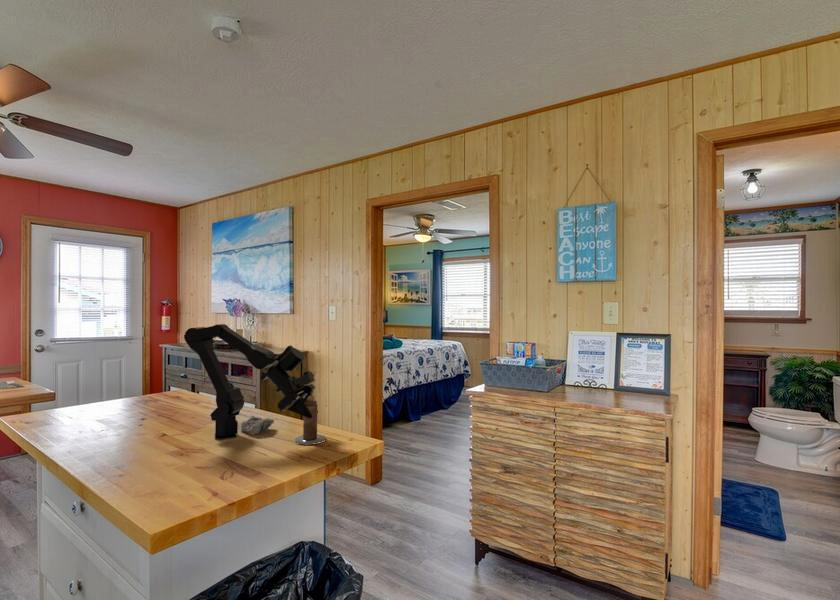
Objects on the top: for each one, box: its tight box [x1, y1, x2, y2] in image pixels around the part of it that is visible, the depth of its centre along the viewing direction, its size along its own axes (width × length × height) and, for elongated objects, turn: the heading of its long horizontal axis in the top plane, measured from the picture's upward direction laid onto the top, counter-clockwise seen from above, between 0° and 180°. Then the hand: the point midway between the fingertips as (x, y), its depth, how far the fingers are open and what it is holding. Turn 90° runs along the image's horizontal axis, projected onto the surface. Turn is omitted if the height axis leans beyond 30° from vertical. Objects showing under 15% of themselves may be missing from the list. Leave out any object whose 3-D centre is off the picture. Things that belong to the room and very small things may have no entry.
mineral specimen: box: [240, 415, 275, 436], centre depth 157 cm, size 6×11×12 cm
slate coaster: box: [293, 433, 327, 444], centre depth 146 cm, size 10×10×1 cm
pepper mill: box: [302, 394, 318, 441], centre depth 146 cm, size 4×4×14 cm
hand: (314, 415), depth 146 cm, fingers open, 5 cm apart
